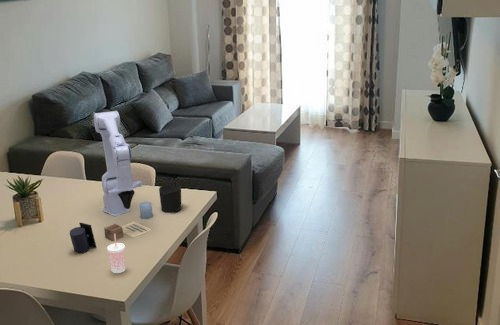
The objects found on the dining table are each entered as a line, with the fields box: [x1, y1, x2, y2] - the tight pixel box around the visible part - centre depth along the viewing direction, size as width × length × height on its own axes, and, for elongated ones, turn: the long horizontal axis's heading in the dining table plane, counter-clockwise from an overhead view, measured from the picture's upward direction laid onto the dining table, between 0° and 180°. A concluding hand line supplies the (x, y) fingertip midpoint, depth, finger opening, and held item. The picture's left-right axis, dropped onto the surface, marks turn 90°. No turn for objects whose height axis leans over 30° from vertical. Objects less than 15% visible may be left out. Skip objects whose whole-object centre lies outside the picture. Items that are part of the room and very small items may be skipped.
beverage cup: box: [106, 233, 126, 274], centre depth 190 cm, size 6×6×14 cm
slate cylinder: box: [139, 201, 153, 220], centre depth 233 cm, size 5×5×6 cm
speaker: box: [69, 222, 97, 254], centre depth 206 cm, size 8×6×10 cm
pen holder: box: [158, 184, 182, 214], centre depth 240 cm, size 9×9×10 cm
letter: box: [121, 221, 152, 238], centre depth 223 cm, size 12×9×1 cm
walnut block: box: [103, 223, 124, 242], centre depth 216 cm, size 5×5×4 cm
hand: (127, 208), depth 218 cm, fingers closed
